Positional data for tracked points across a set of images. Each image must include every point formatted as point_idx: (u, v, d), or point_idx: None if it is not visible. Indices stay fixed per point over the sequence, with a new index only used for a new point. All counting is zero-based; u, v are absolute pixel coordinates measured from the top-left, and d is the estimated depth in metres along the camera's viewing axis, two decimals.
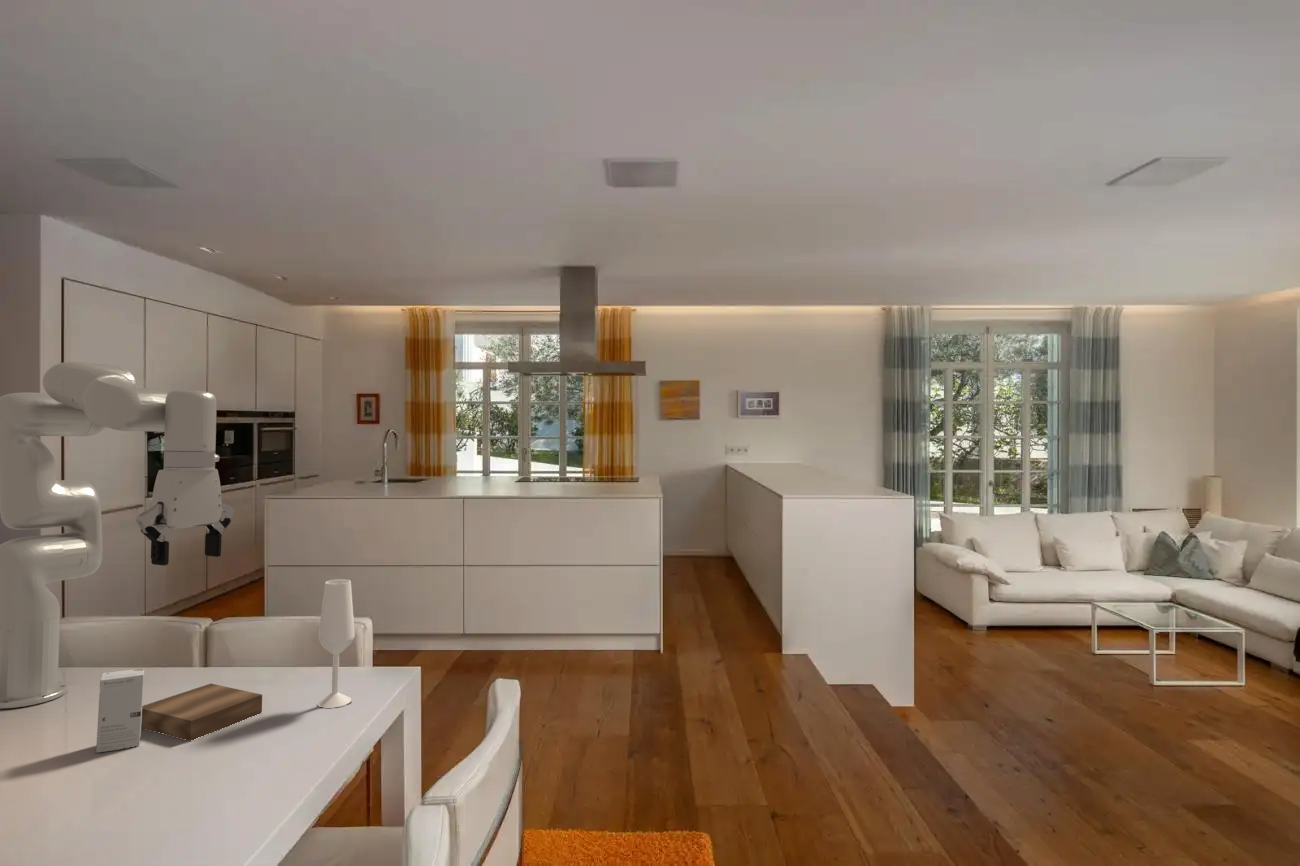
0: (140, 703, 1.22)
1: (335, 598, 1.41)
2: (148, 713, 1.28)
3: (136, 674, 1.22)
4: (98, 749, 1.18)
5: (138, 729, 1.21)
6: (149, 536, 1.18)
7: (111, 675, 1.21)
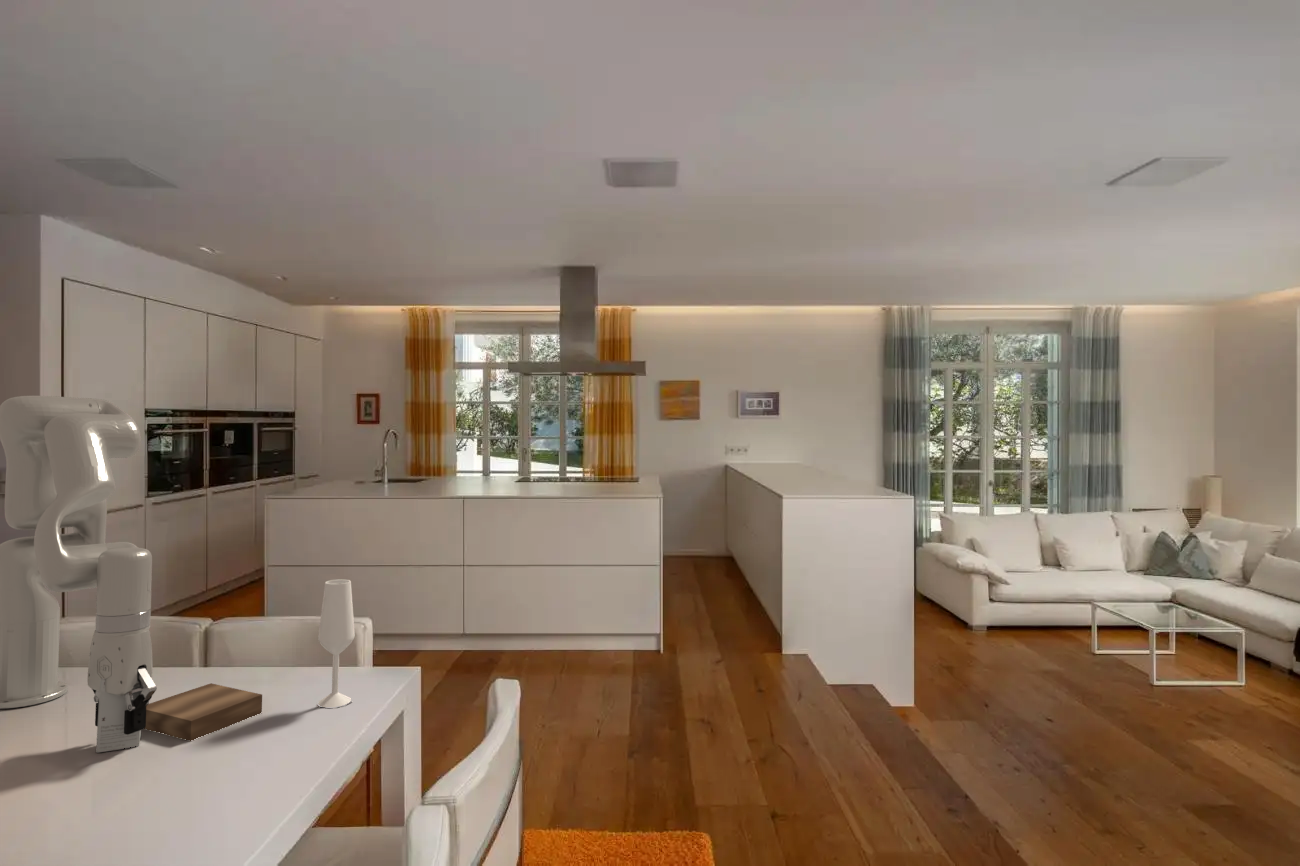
0: None
1: (335, 598, 1.41)
2: (148, 713, 1.28)
3: None
4: (98, 749, 1.18)
5: None
6: (143, 703, 1.20)
7: None
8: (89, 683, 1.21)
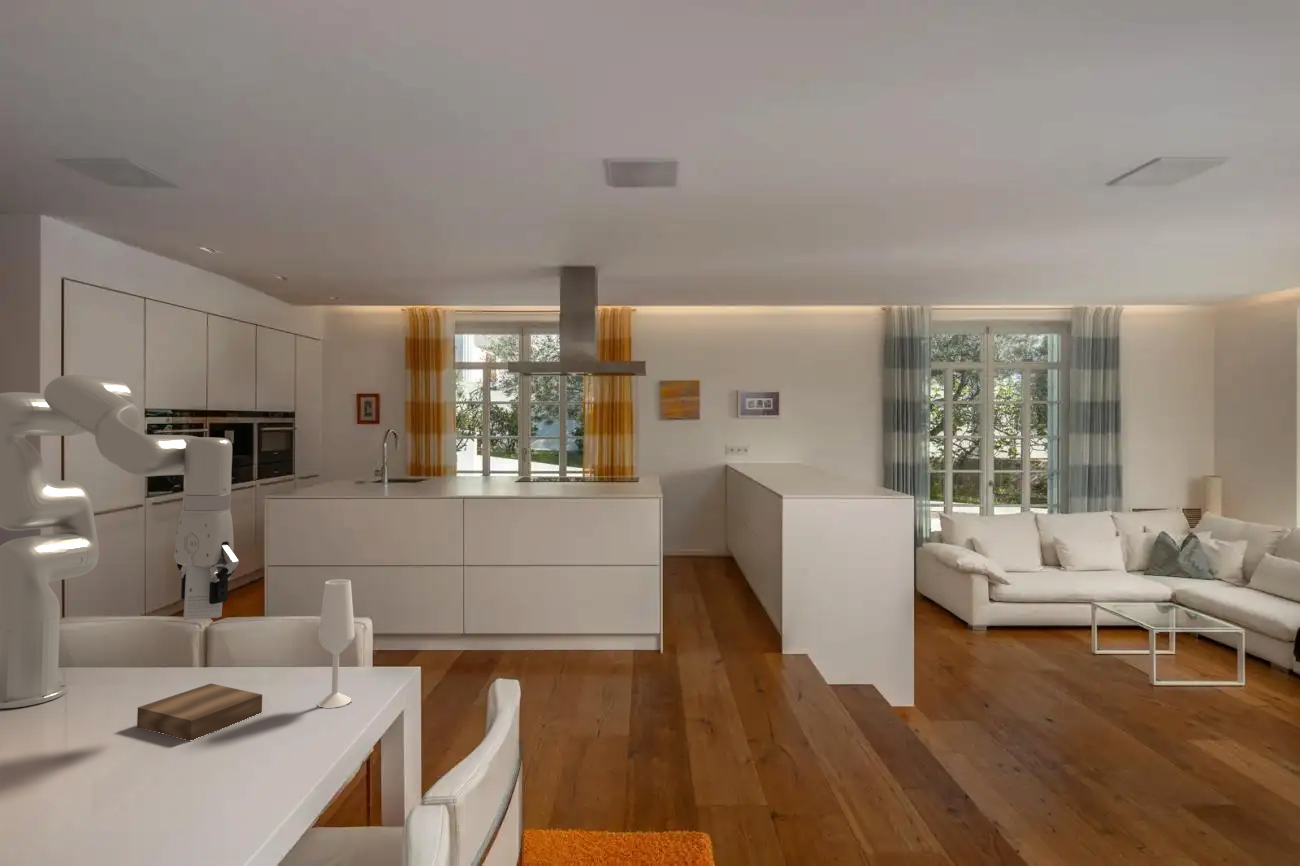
0: None
1: (335, 598, 1.41)
2: (148, 713, 1.28)
3: None
4: (186, 617, 1.30)
5: None
6: (226, 576, 1.31)
7: None
8: (176, 558, 1.32)
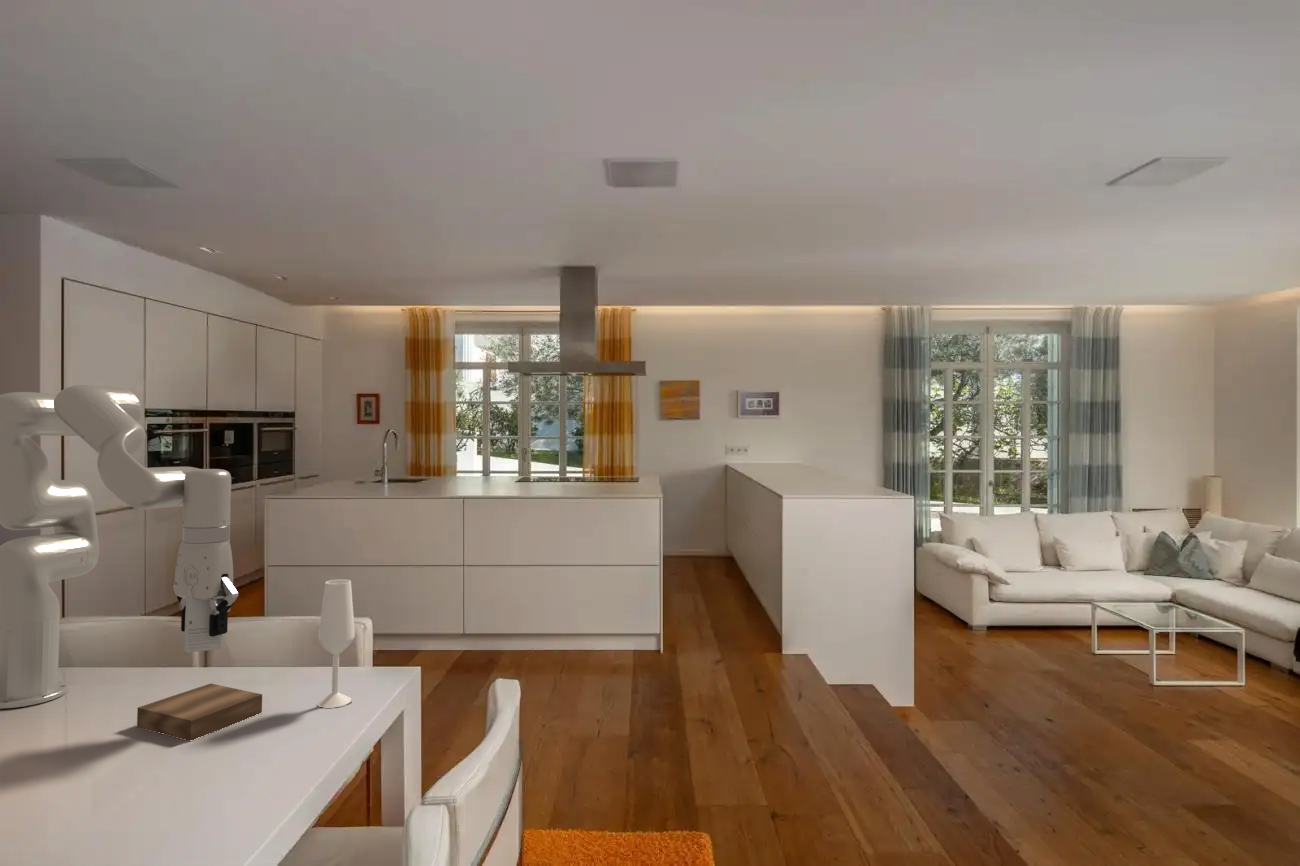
0: None
1: (335, 598, 1.41)
2: (148, 713, 1.28)
3: None
4: (186, 649, 1.30)
5: None
6: (226, 608, 1.31)
7: None
8: (176, 591, 1.32)
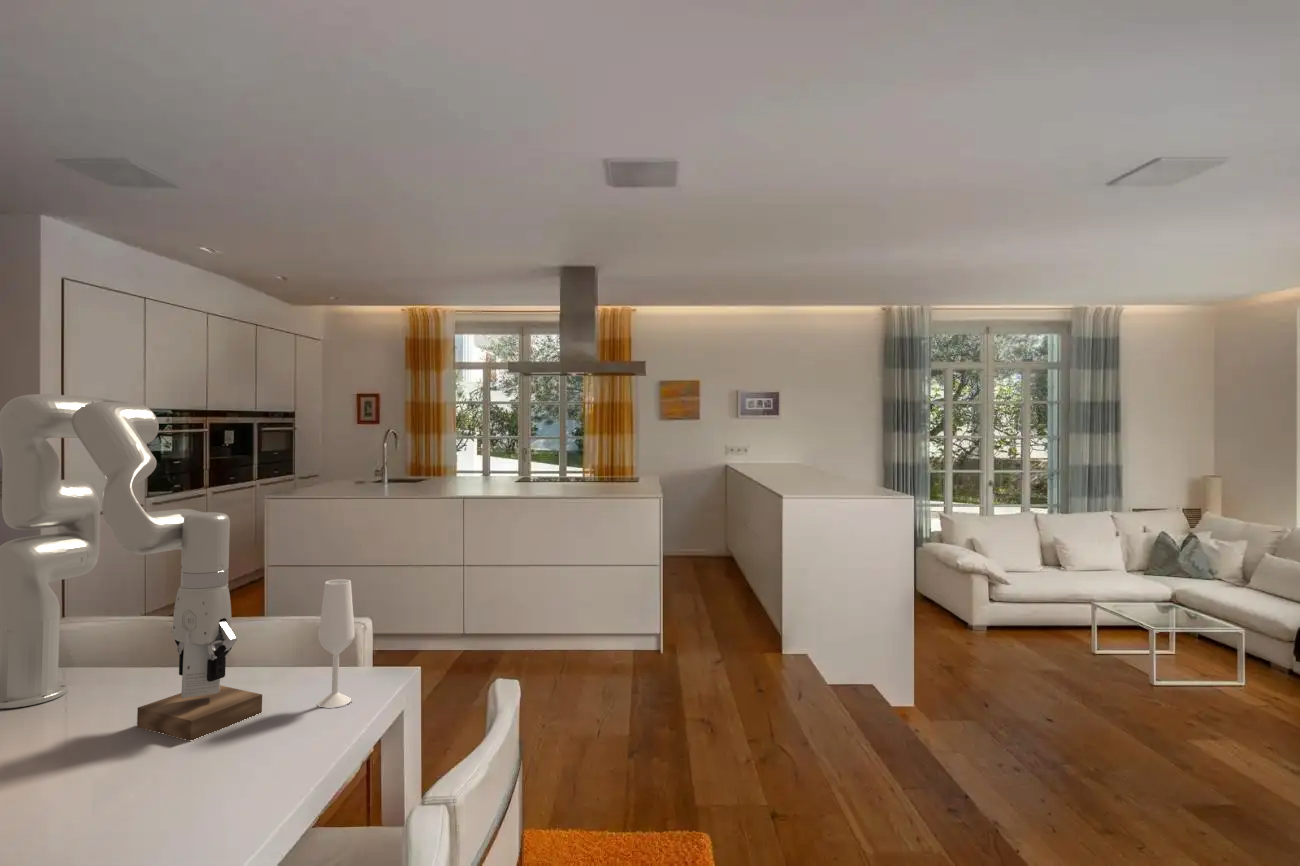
0: None
1: (335, 598, 1.41)
2: (148, 713, 1.28)
3: None
4: (183, 694, 1.30)
5: None
6: (224, 653, 1.31)
7: None
8: (174, 635, 1.32)
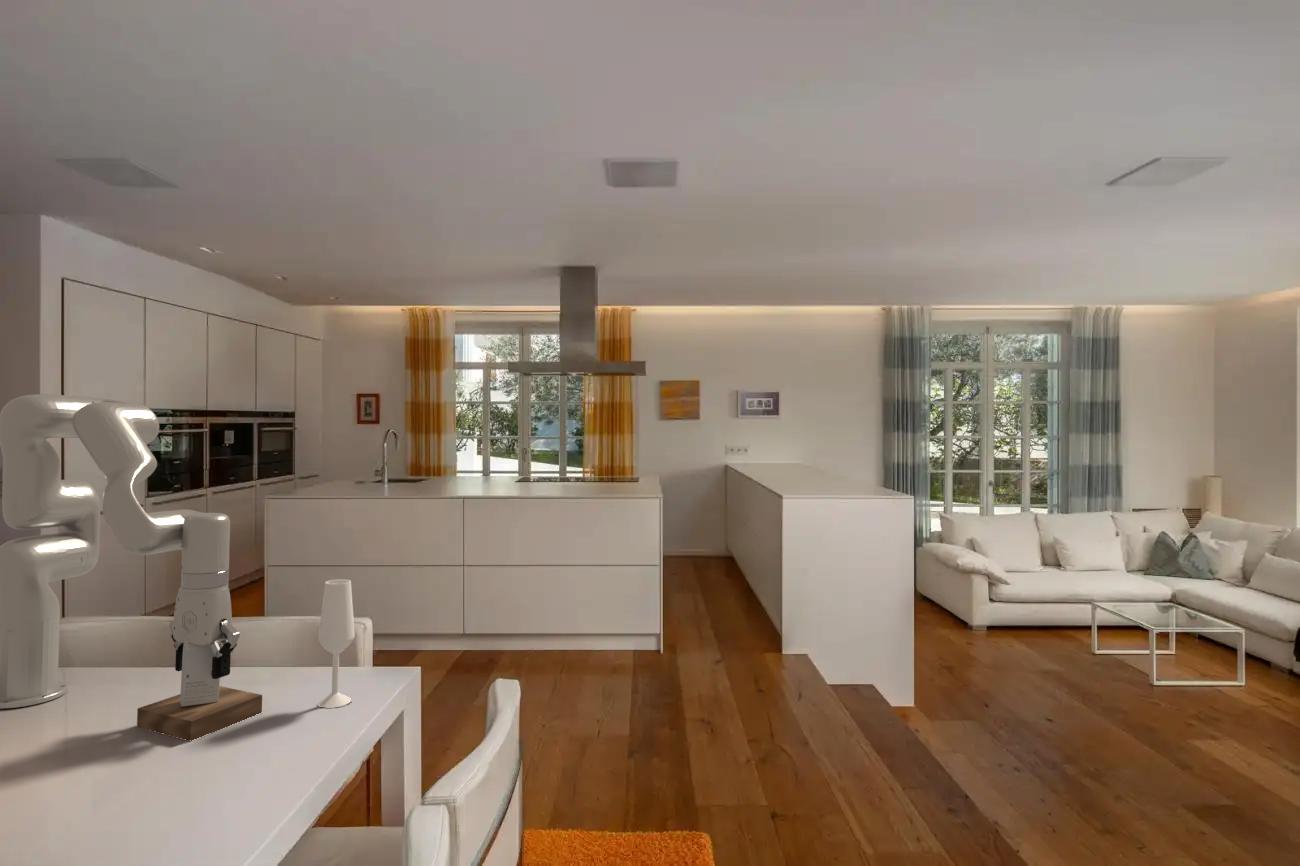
0: None
1: (335, 598, 1.41)
2: (148, 714, 1.28)
3: None
4: (183, 703, 1.30)
5: (217, 686, 1.33)
6: (229, 651, 1.31)
7: None
8: (174, 636, 1.32)
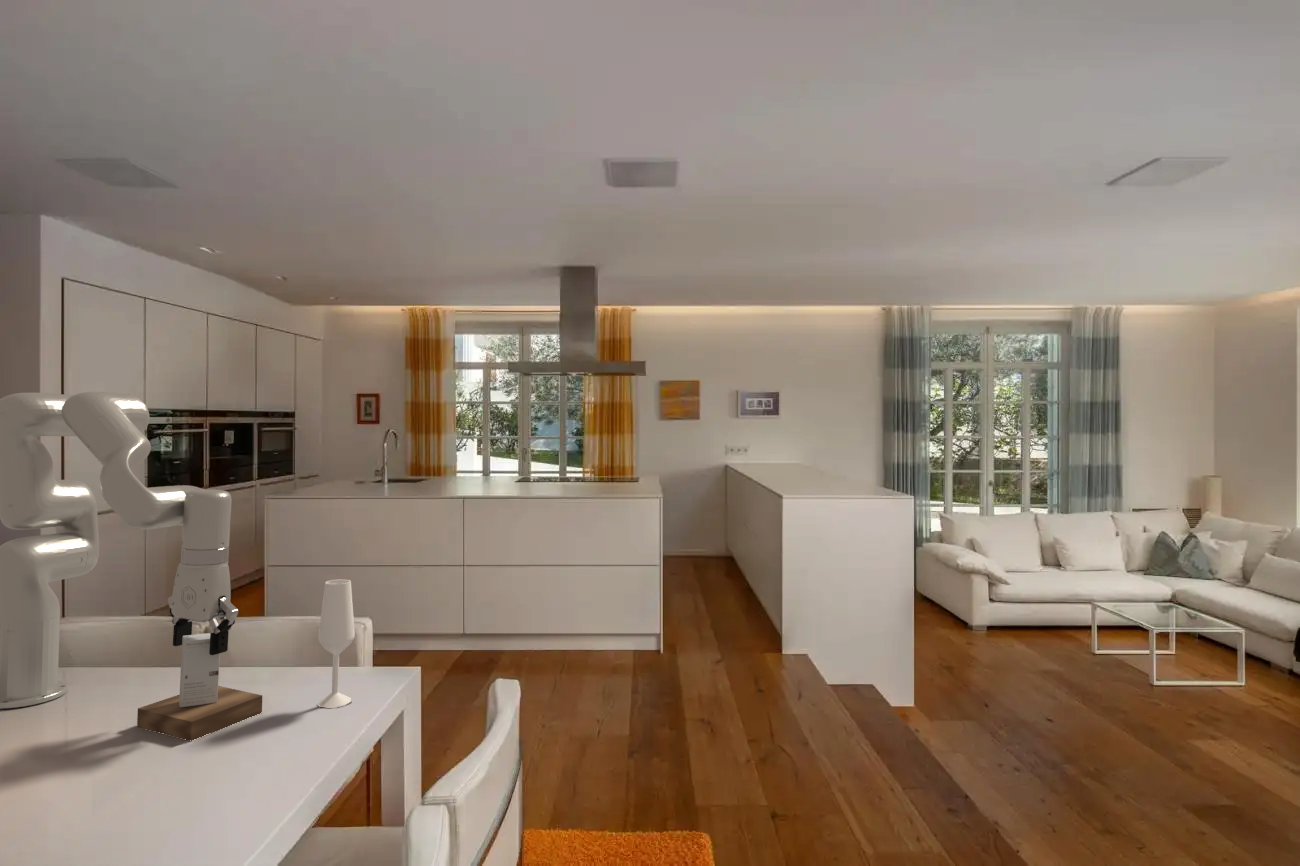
0: (218, 663, 1.33)
1: (335, 598, 1.41)
2: (148, 714, 1.28)
3: None
4: (181, 704, 1.30)
5: (216, 687, 1.33)
6: (227, 627, 1.31)
7: (192, 637, 1.32)
8: (173, 611, 1.32)
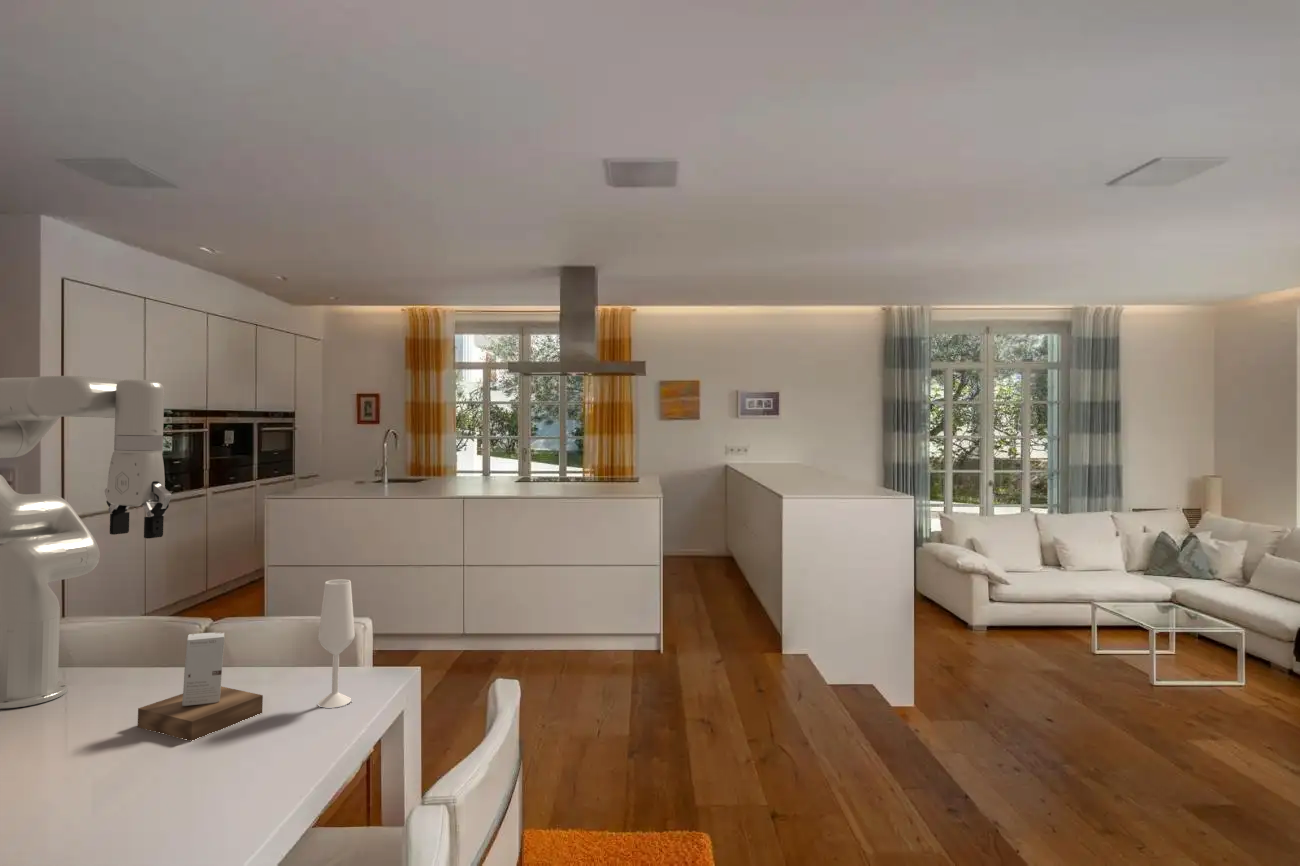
0: (221, 662, 1.33)
1: (335, 598, 1.41)
2: (148, 714, 1.28)
3: (218, 636, 1.33)
4: (184, 703, 1.30)
5: (219, 686, 1.33)
6: (161, 511, 1.33)
7: (196, 636, 1.32)
8: (108, 498, 1.35)
